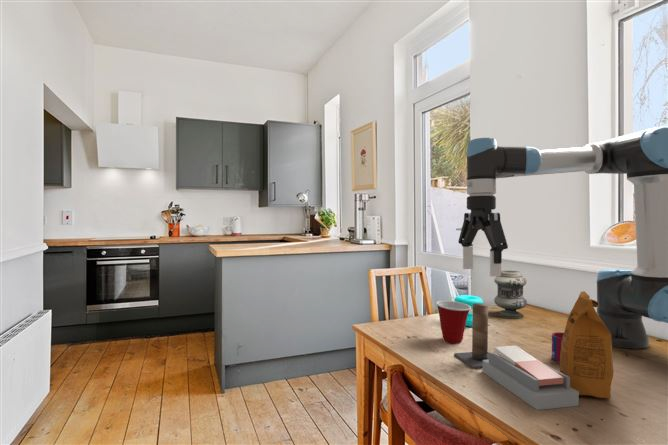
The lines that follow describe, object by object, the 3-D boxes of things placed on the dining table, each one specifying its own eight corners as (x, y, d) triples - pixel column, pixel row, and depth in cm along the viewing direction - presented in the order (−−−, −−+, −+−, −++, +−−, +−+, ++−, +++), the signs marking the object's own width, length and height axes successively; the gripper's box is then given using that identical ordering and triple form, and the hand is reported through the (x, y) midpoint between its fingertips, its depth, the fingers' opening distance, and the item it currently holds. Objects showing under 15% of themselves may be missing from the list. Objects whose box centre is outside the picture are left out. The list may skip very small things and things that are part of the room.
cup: (550, 354, 112) (551, 331, 112) (591, 360, 107) (592, 335, 107) (552, 362, 106) (552, 337, 106) (595, 368, 101) (596, 343, 101)
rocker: (494, 352, 98) (494, 347, 97) (515, 350, 99) (516, 345, 98) (538, 385, 82) (539, 379, 82) (563, 383, 83) (563, 377, 83)
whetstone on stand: (517, 368, 101) (517, 347, 101) (578, 405, 81) (578, 379, 81) (482, 371, 99) (482, 350, 99) (536, 410, 80) (537, 383, 80)
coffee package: (605, 382, 93) (606, 291, 92) (616, 405, 82) (617, 302, 81) (557, 374, 97) (558, 288, 97) (562, 395, 86) (563, 297, 86)
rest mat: (485, 353, 113) (485, 351, 113) (507, 366, 103) (507, 363, 103) (454, 355, 111) (454, 353, 111) (473, 368, 101) (473, 366, 101)
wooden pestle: (482, 355, 109) (482, 302, 109) (490, 360, 105) (491, 306, 105) (469, 356, 108) (469, 303, 108) (477, 361, 104) (477, 306, 104)
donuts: (486, 300, 138) (458, 299, 138) (486, 327, 138) (458, 327, 138) (477, 294, 148) (451, 294, 148) (477, 320, 148) (451, 320, 148)
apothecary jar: (502, 310, 164) (503, 268, 163) (532, 315, 154) (532, 271, 154) (488, 314, 156) (488, 270, 156) (518, 321, 147) (518, 274, 146)
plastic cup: (471, 348, 117) (471, 308, 117) (434, 344, 120) (434, 306, 120) (470, 337, 127) (471, 301, 127) (437, 334, 131) (437, 299, 130)
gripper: (447, 197, 118) (446, 266, 118) (495, 192, 93) (495, 280, 93) (469, 197, 119) (469, 266, 119) (523, 192, 94) (522, 279, 95)
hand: (480, 272), depth 106 cm, fingers open, 13 cm apart
